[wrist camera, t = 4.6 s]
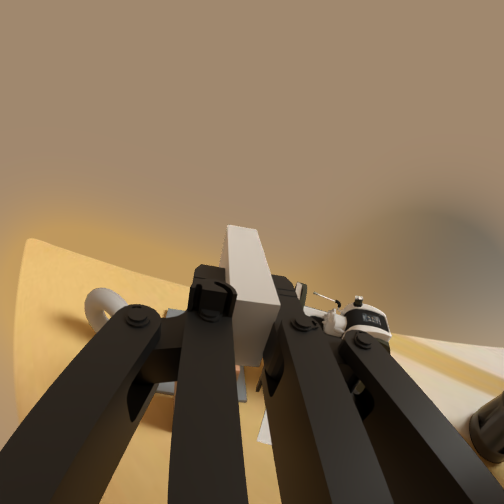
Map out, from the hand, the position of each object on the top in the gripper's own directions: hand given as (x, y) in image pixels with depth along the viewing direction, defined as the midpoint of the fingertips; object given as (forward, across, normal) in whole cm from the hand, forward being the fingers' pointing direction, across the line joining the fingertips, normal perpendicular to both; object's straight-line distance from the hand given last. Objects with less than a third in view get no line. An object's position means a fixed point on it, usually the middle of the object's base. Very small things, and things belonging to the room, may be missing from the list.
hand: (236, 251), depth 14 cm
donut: (+20, +15, +29) cm, 38 cm away
